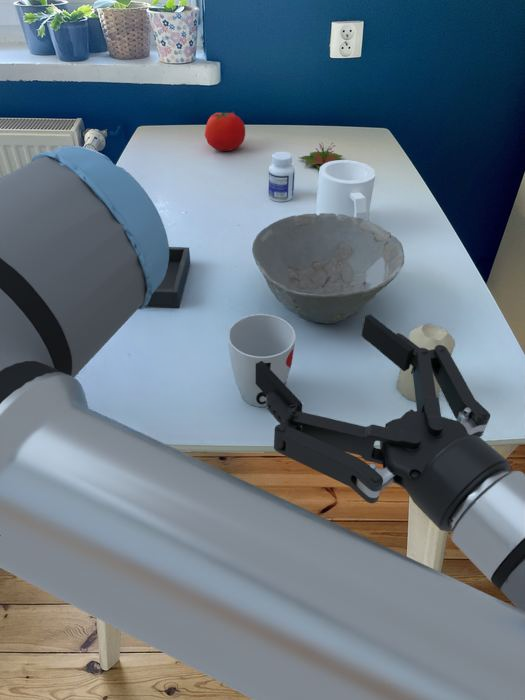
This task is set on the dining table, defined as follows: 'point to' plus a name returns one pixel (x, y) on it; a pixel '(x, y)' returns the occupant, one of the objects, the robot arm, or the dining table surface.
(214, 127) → the tomato
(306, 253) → the ceramic bowl
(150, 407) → the dining table surface
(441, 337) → the candle
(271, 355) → the cup
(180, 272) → the shallow square tray
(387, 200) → the dining table surface
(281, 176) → the pill bottle
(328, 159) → the lily flower
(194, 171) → the dining table surface
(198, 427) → the dining table surface
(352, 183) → the mug
